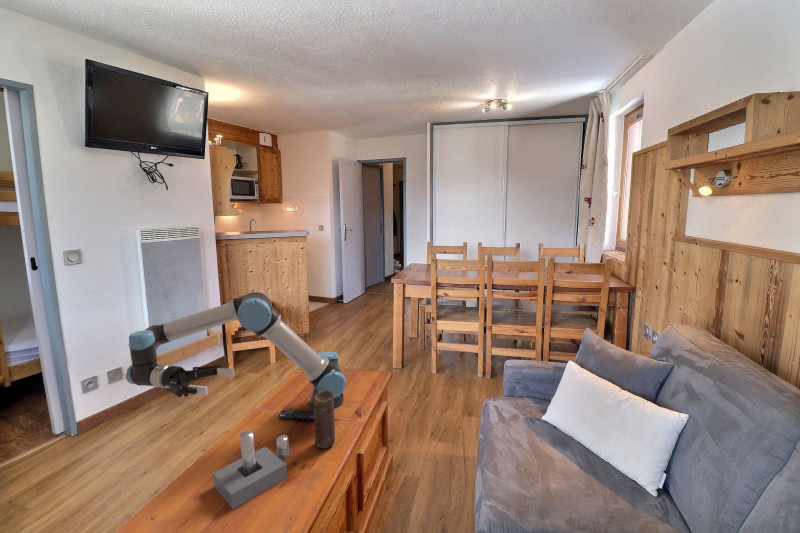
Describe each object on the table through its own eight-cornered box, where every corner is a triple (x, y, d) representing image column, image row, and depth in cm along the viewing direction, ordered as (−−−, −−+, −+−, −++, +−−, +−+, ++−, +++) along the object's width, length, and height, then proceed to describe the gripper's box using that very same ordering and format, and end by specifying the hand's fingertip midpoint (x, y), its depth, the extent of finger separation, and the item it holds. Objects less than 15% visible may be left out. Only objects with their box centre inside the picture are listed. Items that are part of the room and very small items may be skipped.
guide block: (266, 459, 135) (265, 446, 134) (287, 477, 126) (286, 463, 125) (214, 487, 122) (212, 472, 121) (233, 509, 113) (231, 494, 112)
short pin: (285, 451, 139) (284, 433, 138) (291, 455, 137) (290, 437, 136) (275, 456, 137) (274, 438, 135) (281, 461, 134) (279, 443, 133)
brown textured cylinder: (339, 440, 145) (336, 391, 142) (329, 452, 138) (326, 401, 135) (321, 437, 147) (318, 388, 144) (311, 448, 140) (308, 398, 137)
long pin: (254, 476, 127) (249, 429, 124) (259, 481, 124) (255, 433, 121) (242, 482, 124) (237, 434, 121) (247, 488, 121) (243, 439, 118)
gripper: (196, 371, 147) (244, 376, 142) (139, 404, 123) (194, 410, 118) (194, 353, 146) (242, 357, 141) (136, 382, 122) (192, 388, 117)
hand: (220, 381), depth 130 cm, fingers open, 13 cm apart
